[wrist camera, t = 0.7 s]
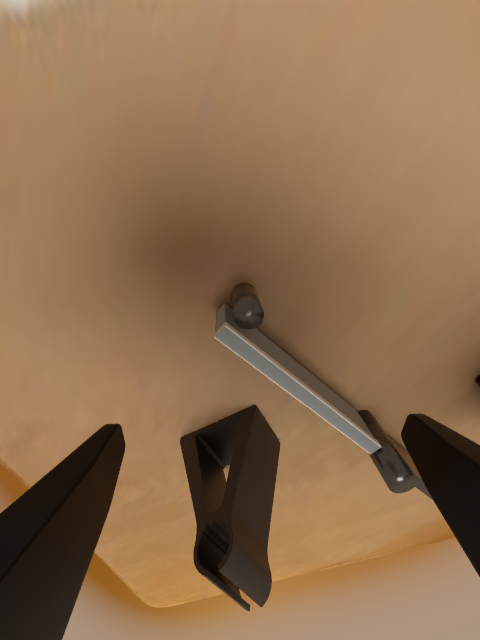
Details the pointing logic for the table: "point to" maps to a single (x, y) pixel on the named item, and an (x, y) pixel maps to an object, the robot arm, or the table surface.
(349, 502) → the table surface
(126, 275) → the table surface
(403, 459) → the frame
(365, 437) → the grey flat bar
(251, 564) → the phone stand
